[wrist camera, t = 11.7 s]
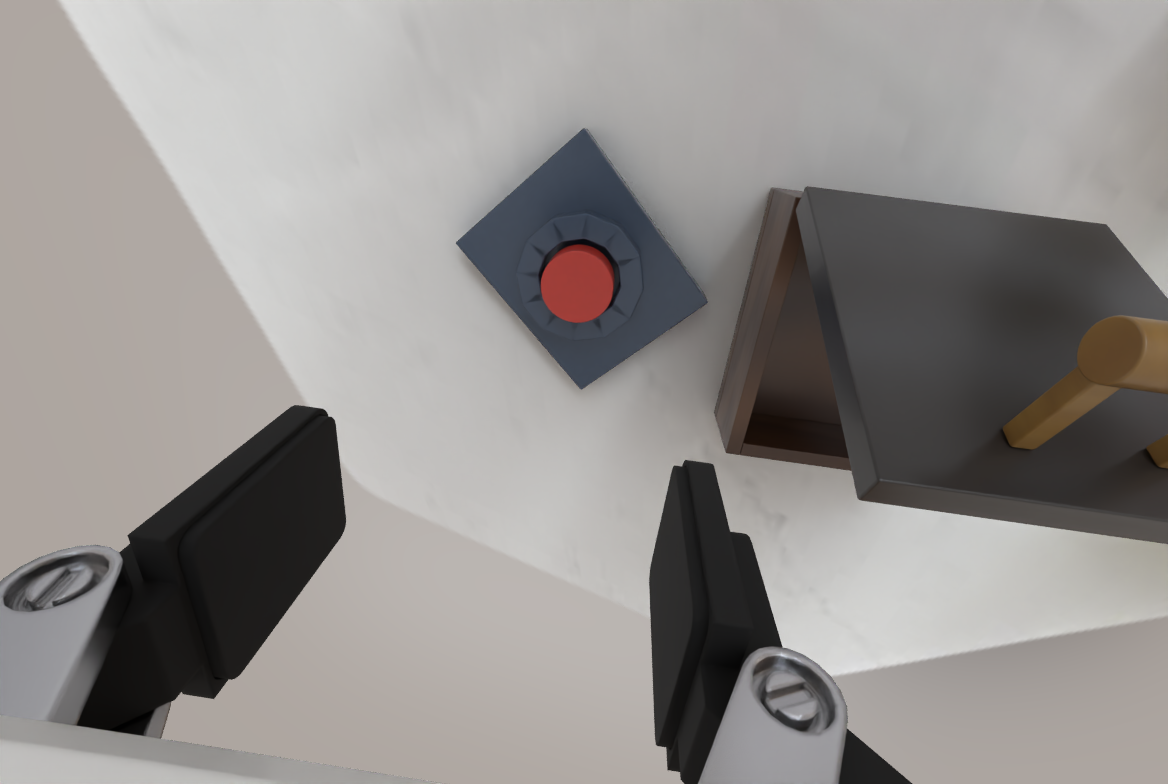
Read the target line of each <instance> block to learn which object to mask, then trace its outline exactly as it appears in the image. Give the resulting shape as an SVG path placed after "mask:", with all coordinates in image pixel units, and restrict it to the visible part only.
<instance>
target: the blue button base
mask: <svg viewBox="0 0 1168 784" xmlns="http://www.w3.org/2000/svg"><path fill="white" fill-rule="evenodd" d="M456 244H457V245H458V246H459V247H460V249H461V250H462V251H463V252H464V253H465V254H466V256H467V257H468V258H469V259H470V260H471V262H472V263H473V264H474V265H475V266H476V267H477V269H478V270H479V271H480V272H481V273H482V274H483V276H484V277H485V278H486V279H487V280H488V281H489V283H490V284H491V285H492V286H493V287H494V288H495V290H496V291H497V292H498V293H499V294H500V295H501V297H502V298H503V299H504V300H505V301H506V302H507V304H508V305H509V306H510V307H511V308H512V309H513V311H514V312H515V313H516V314H517V315H518V317H519V318H520V319H521V320H522V321H523V322H524V324H525V325H526V326H527V327H528V328H529V329H530V331H531V332H532V333H533V334H534V335H535V336H536V338H537V339H538V340H539V341H540V342H541V343H542V345H543V346H544V347H545V348H546V349H547V350H548V352H549V353H550V354H551V355H552V356H553V357H554V359H555V360H556V361H557V362H558V363H559V364H560V366H561V367H562V368H563V369H564V370H565V372H566V373H567V374H568V375H569V376H570V377H571V379H572V380H573V381H574V382H575V383H576V384H577V386H578V387H579V388H580V389H583V388H584V387H586V386H587V385H589V384H590V383H592V382H593V381H595V380H596V379H598V378H599V377H600V376H602V375H603V374H605V373H606V372H608V371H609V370H611V369H612V368H614V367H615V366H616V365H618V364H619V363H621V362H622V361H624V360H625V359H627V358H628V357H630V356H631V355H632V354H634V353H635V352H637V351H638V350H640V349H641V348H643V347H644V346H646V345H647V344H648V343H650V342H651V341H653V340H654V339H656V338H657V337H659V336H660V335H662V334H663V333H665V332H666V331H667V330H669V329H670V328H672V327H673V326H675V325H676V324H678V323H679V322H681V321H682V320H683V319H685V318H686V317H688V316H689V315H691V314H692V313H694V312H695V311H697V310H698V309H699V308H701V307H702V306H704V305H705V304H707V303H708V301H707V299H706V297H705V295H704V293H703V291H702V290H701V289H700V287H699V286H698V284H697V283H696V282H695V280H694V279H693V277H692V276H691V275H690V273H689V272H688V270H687V269H686V267H685V266H684V265H683V263H682V262H681V260H680V259H679V258H678V256H677V255H676V253H675V252H674V251H673V249H672V248H671V246H670V245H669V244H668V242H667V241H666V239H665V238H664V236H663V235H662V234H661V232H660V231H659V229H658V228H657V227H656V225H655V224H654V222H653V221H652V220H651V218H650V217H649V215H648V214H647V212H646V211H645V210H644V208H643V207H642V205H641V204H640V203H639V201H638V200H637V198H636V197H635V196H634V194H633V193H632V191H631V190H630V189H629V187H628V186H627V184H626V183H625V181H624V180H623V179H622V177H621V176H620V174H619V173H618V172H617V170H616V169H615V167H614V166H613V165H612V163H611V162H610V160H609V159H608V157H607V156H606V155H605V153H604V152H603V150H602V149H601V148H600V146H599V145H598V143H597V142H596V141H595V139H594V138H593V136H592V135H591V134H590V132H589V131H588V129H585V128H584V129H582V130H581V131H580V132H579V133H578V134H577V135H576V136H574V137H573V138H572V139H571V140H570V141H569V142H568V143H567V144H565V145H564V146H563V147H562V148H561V149H560V150H559V151H558V152H557V153H555V154H554V155H553V156H552V157H551V158H550V159H549V160H548V161H546V162H545V163H544V164H543V165H542V166H541V167H540V168H539V169H538V170H536V171H535V172H534V173H533V174H532V175H531V176H530V177H529V178H527V179H526V180H525V181H524V182H523V183H522V184H521V185H520V186H519V187H517V188H516V189H515V190H514V191H513V192H512V193H511V194H510V195H508V196H507V197H506V198H505V199H504V200H503V201H502V202H501V203H500V204H498V205H497V206H496V207H495V208H494V209H493V210H492V211H491V212H489V213H488V214H487V215H486V216H485V217H484V218H483V219H482V220H481V221H479V222H478V223H477V224H476V225H475V226H474V227H473V228H472V229H470V230H469V231H468V232H467V233H466V234H465V235H464V236H463V237H462V238H460V239H459V240H458V241H457V242H456ZM578 244H580V245H588V246H591V247H593V248H595V249H597V250H599V251H600V252H602V253H603V254H604V255H605V256H606V258H607V259H608V260H609V262H610V264H611V266H612V268H613V272H614V289H613V295H612V299H611V302H610V304H609V306H608V307H607V309H606V310H605V311H604V312H603V313H602V314H601V315H600V316H598V317H597V318H595V319H593V320H590V321H587V322H582V323H575V322H569V321H566V320H563V319H561V318H559V317H558V316H556V315H555V314H554V313H552V312H551V310H550V309H549V308H548V307H547V305H546V304H545V302H544V299H543V297H542V293H541V278H542V275H543V272H544V270H545V268H546V266H547V265H548V263H549V262H550V260H551V259H552V258H553V256H554V255H555V254H556V253H557V252H559V251H560V250H561V249H563V248H565V247H568V246H571V245H578Z"/></svg>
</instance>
